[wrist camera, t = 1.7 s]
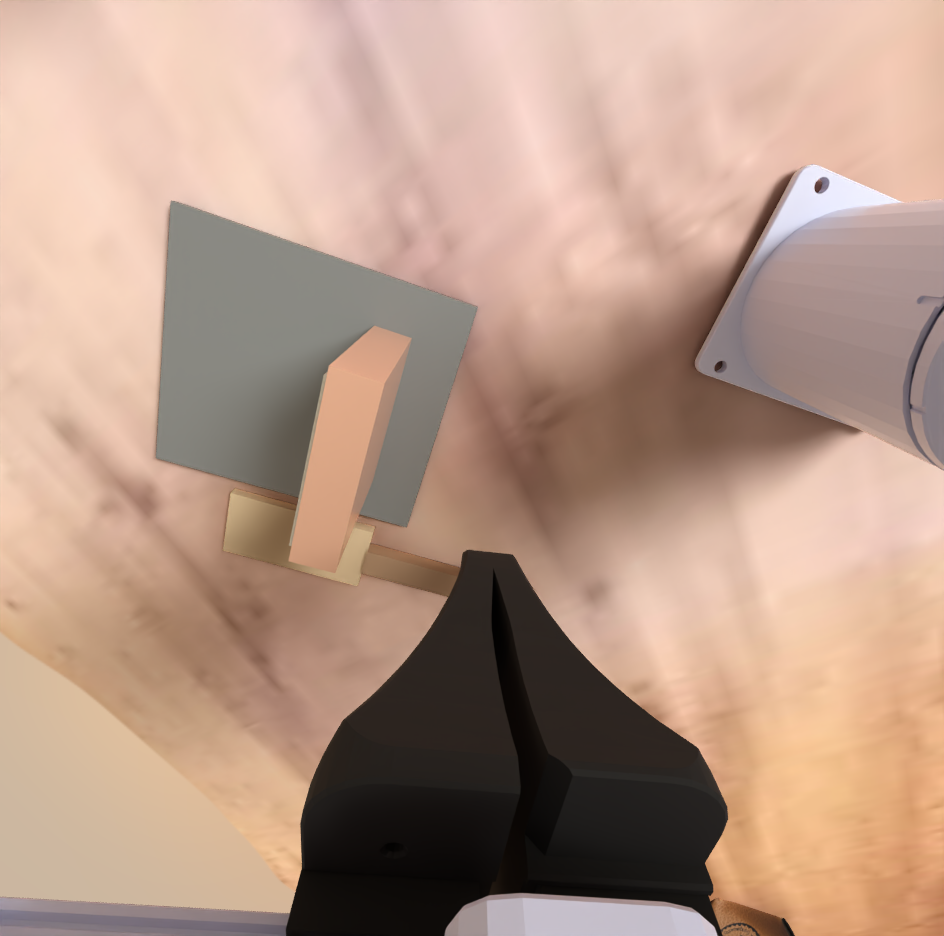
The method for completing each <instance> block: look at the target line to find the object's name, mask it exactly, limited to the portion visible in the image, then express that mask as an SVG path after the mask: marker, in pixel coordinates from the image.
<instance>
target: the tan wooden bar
mask: <svg viewBox="0 0 944 936" xmlns="http://www.w3.org/2000/svg"><path fill="white" fill-rule="evenodd" d="M296 508H297V505H294V504H291V503H287V502H283V501H280V500H276V499H272V498H269V497H265V496H261V495H258V494H254V493H251V492H247V491H243V490H240V489H236V488H235V489H234V490H233V491H232V492H231V493H230V501H229V508H228V515H227V523H226V530H225V538H224V545H223V551H226V552H229V553H233V554H237V555H241V556H245V557H248V558H252V559H256V560H260V561H263V562H267V563H271V564H275V565H279V566H282V567H286V568H290V569H294V570H297V571H301V572H305V573H309V574H313V575H316V576H320V577H324V578H328V579H331V580H335V581H339V582H343V583H347V584H350V585H354V586H358V584H359V581H360V578H361V574H365V575H369V576H373V577H376V578H380V579H384V580H388V581H391V582H395V583H399V584H403V585H406V586H410V587H414V588H417V589H421V590H425V591H429V592H432V593H436V594H440V595H444V596H447V597H449V595H450V593H451V591H452V588H453V586H454V584H455V582H456V580H457V577H458V574H459V571H460V568H459V567H456V566H452V565H448V564H445V563H441V562H438V561H434V560H430V559H427V558H423V557H420V556H416V555H412V554H409V553H405V552H401V551H398V550H394V549H390V548H387V547H383V546H379V545H375V544H372V543H371V540H372V536H373V533H374V530H375V527H374V526H371V525H367V524H363V523H360V522H356V523H355V526H354V528H353V531H352V533H351V536H350V538H349V541H348V543H347V545H346V548H345V550H344V553H343V555H342V558H341V560H340V563H339V565H338V568H337V570H336V572H335V573H332V572H328V571H324V570H320V569H317V568H313V567H309V566H305V565H301V564H297V563H293V562H289V556H290V551H291V546H289V543H290V538H291V533H292V528H293V523H294V518H295V513H296Z"/></svg>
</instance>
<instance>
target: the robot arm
mask: <svg viewBox="0 0 944 936" xmlns="http://www.w3.org/2000/svg"><path fill="white" fill-rule="evenodd" d="M818 179H820V180H821V181H822V187H821V190H820V191H819V192H818V193H816V192H815V189H814V186H815V183H816V182H817V180H818ZM719 361H722V363H723V364H722V367H721V368H720V369H719V370H717V371H715V370H714V367H715V365H716V363H717V362H719ZM695 367H696V369H697V370H698V371H699V372H701V373H703V374H705V375H708V376H710V377H713V378H716V379H719V380H722V381H725V382H727V383H730V384H733V385H736V386H739V387H742V388H744V389H747V390H750V391H753V392H756V393H759V394H761V395H764V396H767V397H770V398H773V399H776V400H778V401H781V402H784V403H787V404H790V405H793V406H795V407H798V408H801V409H804V410H807V411H810V412H812V413H815V414H818V415H821V416H824V417H827V418H829V419H832V420H835V421H838V422H841V423H844V424H846V425H849V426H852V427H855V428H857V429H859V430H861V431H864V432H866V433H868V434H870V435H872V436H874V437H876V438H878V439H880V440H882V441H884V442H886V443H888V444H890V445H892V446H894V447H897V448H899V449H901V450H903V451H905V452H907V453H909V454H911V455H913V456H915V457H917V458H919V459H921V460H923V461H925V462H927V463H930V464H932V465H934V466H936V467H938V468H940V469H942V470H944V199H936V200H925V201H914V202H901V201H898V200H896V199H894V198H892V197H889V196H887V195H885V194H882V193H880V192H878V191H876V190H873V189H871V188H869V187H866V186H864V185H862V184H859V183H857V182H855V181H853V180H850V179H848V178H846V177H843V176H841V175H839V174H837V173H834V172H832V171H830V170H827V169H825V168H823V167H821V166H818V165H813V164H812V165H808V166H804V167H801V168H800V169H799V170H797V171H796V172H795V174H794V175H793V176H792V178H791V180H790V182H789V184H788V186H787V188H786V190H785V191H784V193H783V195H782V197H781V199H780V201H779V203H778V205H777V206H776V208H775V210H774V212H773V214H772V216H771V218H770V220H769V222H768V223H767V225H766V227H765V229H764V231H763V233H762V235H761V237H760V238H759V240H758V242H757V244H756V246H755V248H754V250H753V252H752V254H751V255H750V257H749V259H748V261H747V263H746V265H745V267H744V269H743V271H742V272H741V274H740V276H739V278H738V280H737V282H736V284H735V286H734V287H733V289H732V291H731V293H730V295H729V297H728V299H727V301H726V303H725V304H724V306H723V308H722V310H721V312H720V314H719V316H718V318H717V320H716V321H715V323H714V325H713V327H712V329H711V331H710V333H709V335H708V336H707V338H706V340H705V342H704V344H703V346H702V348H701V350H700V352H699V353H698V355H697V357H696V360H695ZM727 820H728V812H727V806H726V803H725V801H724V799H723V797H722V795H721V792H720V790H719V788H718V786H717V783H716V781H715V779H714V777H713V775H712V773H711V771H710V769H709V767H708V765H707V764H706V762H705V760H704V758H703V757H702V755H701V753H700V751H699V749H698V748H697V747H696V746H694V745H693V744H691V743H690V742H689V741H687V740H686V739H684V738H683V737H681V736H680V735H678V734H677V733H675V732H674V731H672V730H671V729H670V728H668V727H667V726H665V725H664V724H662V723H661V722H659V721H658V720H657V719H655V718H654V717H653V716H651V715H650V714H649V713H647V712H646V711H645V710H644V709H642V708H641V707H640V706H639V705H637V704H636V703H635V702H633V701H632V700H631V699H630V698H629V697H627V696H626V695H625V694H624V693H623V692H622V691H620V690H619V689H618V688H617V687H616V686H615V685H614V684H612V683H611V682H610V681H609V680H608V679H607V678H606V677H605V676H604V675H603V674H602V673H601V672H600V671H598V670H597V669H596V668H595V667H594V666H593V665H592V664H591V663H590V662H589V661H588V660H587V659H586V657H585V656H584V655H583V654H582V653H581V652H580V651H579V650H578V649H577V648H576V647H575V645H574V644H573V643H572V642H571V641H570V640H569V638H568V637H567V636H566V635H565V633H564V632H563V631H562V630H561V628H560V627H559V626H558V624H557V623H556V622H555V620H554V619H553V618H552V616H551V615H550V614H549V612H548V611H547V609H546V608H545V606H544V605H543V603H542V602H541V600H540V599H539V597H538V596H537V594H536V593H535V591H534V590H533V588H532V586H531V585H530V583H529V581H528V580H527V578H526V576H525V575H524V573H523V571H522V569H521V568H520V566H519V564H518V562H517V560H516V558H515V557H514V556H513V555H511V554H502V553H492V552H483V551H473V550H467V551H465V552H464V553H463V555H462V562H461V568H460V571H459V574H458V577H457V580H456V582H455V584H454V586H453V588H452V591H451V593H450V595H449V597H448V599H447V601H446V603H445V604H444V606H443V608H442V610H441V611H440V613H439V615H438V617H437V618H436V620H435V622H434V623H433V625H432V626H431V628H430V629H429V631H428V632H427V634H426V635H425V636H424V638H423V639H422V641H421V642H420V643H419V645H418V646H417V647H416V648H415V650H414V651H413V652H412V653H411V655H410V656H409V657H408V658H407V660H406V661H405V662H404V663H403V664H402V665H401V666H400V668H399V669H398V670H397V671H396V672H395V673H394V674H393V675H392V676H391V677H390V678H389V679H388V680H387V681H386V682H385V683H384V684H383V685H382V686H381V687H380V688H379V689H378V690H377V691H376V692H375V693H374V694H373V695H372V696H371V697H370V698H369V699H367V700H366V701H365V702H364V703H363V704H362V705H360V706H359V707H358V708H357V709H356V710H355V711H353V712H352V713H351V714H350V715H349V716H347V717H346V718H345V719H344V720H343V722H342V723H341V725H340V726H339V728H338V730H337V731H336V733H335V735H334V737H333V738H332V740H331V742H330V744H329V745H328V747H327V749H326V751H325V753H324V755H323V757H322V759H321V761H320V763H319V765H318V767H317V769H316V772H315V774H314V777H313V779H312V782H311V784H310V788H309V791H308V795H307V798H306V802H305V805H304V809H303V813H302V818H301V823H300V824H301V852H302V870H301V874H300V878H299V881H298V885H297V889H296V893H295V896H294V900H293V904H292V908H291V912H290V913H273V912H256V911H239V910H221V909H220V910H219V909H204V908H203V909H202V908H186V907H169V906H152V905H135V904H117V903H100V902H82V901H65V900H47V899H31V898H14V897H0V936H723V935H722V932H721V929H720V927H719V924H718V921H717V918H716V916H715V913H714V910H713V907H712V905H711V902H710V899H709V897H708V895H709V896H711V894H712V893H713V884H712V881H711V878H710V876H709V873H708V871H707V868H706V865H705V862H706V860H707V858H708V857H709V855H710V853H711V852H712V850H713V848H714V847H715V845H716V843H717V842H718V840H719V839H720V837H721V835H722V833H723V831H724V828H725V826H726V823H727Z"/></svg>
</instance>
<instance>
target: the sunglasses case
mask: <svg viewBox="0 0 944 936" xmlns="http://www.w3.org/2000/svg"><path fill="white" fill-rule="evenodd" d="M711 905H712V907H713V910H714V913H715V916H716V918H717V921H718V924H719V927H720V929H721V932H722V935H723V936H795V935H794V933H793V931H792V929H791V928H790V926H789V924H788V923H787V922H786V920H785V919H784V918H779V917H777V916H774V915H771V914H768V913H765V912H762V911H758V910H755V909H752V908H749V907H746V906H744V905H740V904H737V903H734V902H729V901H725V900H722V899H721V898H716V899H714V900H712V901H711Z"/></svg>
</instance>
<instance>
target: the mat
mask: <svg viewBox="0 0 944 936" xmlns="http://www.w3.org/2000/svg"><path fill="white" fill-rule="evenodd" d="M477 308H478V307H477V306H474V305H471V304H469V303H466V302H463V301H460V300H457V299H454V298H451V297H449V296H446V295H443V294H440V293H437V292H434V291H431V290H428V289H426V288H423V287H420V286H417V285H414V284H411V283H408V282H406V281H403V280H400V279H397V278H394V277H391V276H388V275H386V274H383V273H380V272H377V271H374V270H371V269H368V268H365V267H363V266H360V265H357V264H354V263H351V262H348V261H345V260H343V259H340V258H337V257H334V256H331V255H328V254H325V253H323V252H320V251H317V250H314V249H311V248H308V247H305V246H302V245H300V244H297V243H294V242H291V241H288V240H285V239H282V238H280V237H277V236H274V235H271V234H268V233H265V232H262V231H260V230H257V229H254V228H251V227H248V226H245V225H242V224H239V223H237V222H234V221H231V220H228V219H225V218H222V217H219V216H217V215H214V214H211V213H208V212H205V211H202V210H199V209H197V208H194V207H191V206H188V205H185V204H182V203H179V202H176V201H171V205H170V223H169V240H168V258H167V275H166V292H165V310H164V327H163V344H162V362H161V379H160V396H159V414H158V431H157V449H156V458H157V459H161V460H165V461H168V462H172V463H175V464H179V465H183V466H186V467H190V468H193V469H197V470H201V471H204V472H208V473H212V474H215V475H219V476H222V477H226V478H230V479H233V480H237V481H240V482H244V483H248V484H251V485H255V486H259V487H262V488H266V489H269V490H273V491H277V492H280V493H284V494H287V495H291V496H295V497H298V498H299V494H300V489H301V484H302V479H303V474H304V469H305V464H306V459H307V454H308V450H309V445H310V440H311V435H312V430H313V425H314V420H315V415H316V410H317V405H318V401H319V396H320V391H321V386H322V381H323V376H324V374H325V373H326V372H327V371H328V367H329V365H330V364H331V363H332V362H334V361H335V360H336V359H337V358H338V357H339V356H340V355H341V354H343V353H344V352H345V351H346V350H347V349H348V348H349V347H351V346H352V345H353V344H354V343H355V342H356V341H357V340H359V339H360V338H361V337H362V336H363V335H364V334H365V333H367V332H368V331H369V330H370V329H371V328H372V327H373V326H377V327H380V328H383V329H386V330H389V331H392V332H395V333H398V334H401V335H404V336H407V337H410V338H412V340H411V344H410V347H409V351H408V354H407V358H406V362H405V365H404V369H403V373H402V376H401V380H400V384H399V387H398V391H397V395H396V398H395V402H394V406H393V409H392V413H391V416H390V420H389V424H388V427H387V431H386V435H385V438H384V442H383V446H382V449H381V453H380V457H379V460H378V464H377V467H376V471H375V475H374V478H373V482H372V484H371V487H370V489H369V492H368V494H367V496H366V499H365V501H364V504H363V506H362V509H361V511H360V515H363V516H367V517H371V518H374V519H378V520H381V521H385V522H389V523H392V524H396V525H399V526H403V527H407V525H408V522H409V519H410V516H411V513H412V509H413V506H414V503H415V500H416V497H417V494H418V491H419V488H420V485H421V482H422V478H423V475H424V472H425V469H426V466H427V463H428V460H429V457H430V454H431V451H432V448H433V444H434V441H435V438H436V435H437V432H438V429H439V426H440V423H441V420H442V417H443V413H444V410H445V407H446V404H447V401H448V398H449V395H450V392H451V389H452V386H453V382H454V379H455V376H456V373H457V370H458V367H459V364H460V361H461V358H462V355H463V352H464V348H465V345H466V342H467V339H468V336H469V333H470V330H471V327H472V324H473V321H474V317H475V314H476V311H477Z"/></svg>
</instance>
